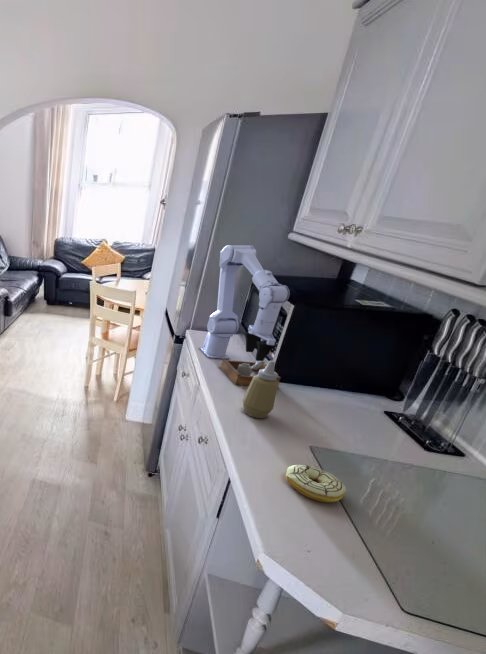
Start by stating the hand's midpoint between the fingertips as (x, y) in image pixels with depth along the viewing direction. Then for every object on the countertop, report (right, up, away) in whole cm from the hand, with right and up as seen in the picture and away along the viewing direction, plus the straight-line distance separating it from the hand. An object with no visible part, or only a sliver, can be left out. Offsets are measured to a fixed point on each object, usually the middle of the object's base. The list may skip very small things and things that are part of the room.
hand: (254, 356), depth 140 cm
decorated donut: (-20, -31, -48) cm, 60 cm away
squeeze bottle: (-13, -18, -18) cm, 29 cm away
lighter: (0, -8, +4) cm, 9 cm away
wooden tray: (0, -8, +4) cm, 9 cm away
